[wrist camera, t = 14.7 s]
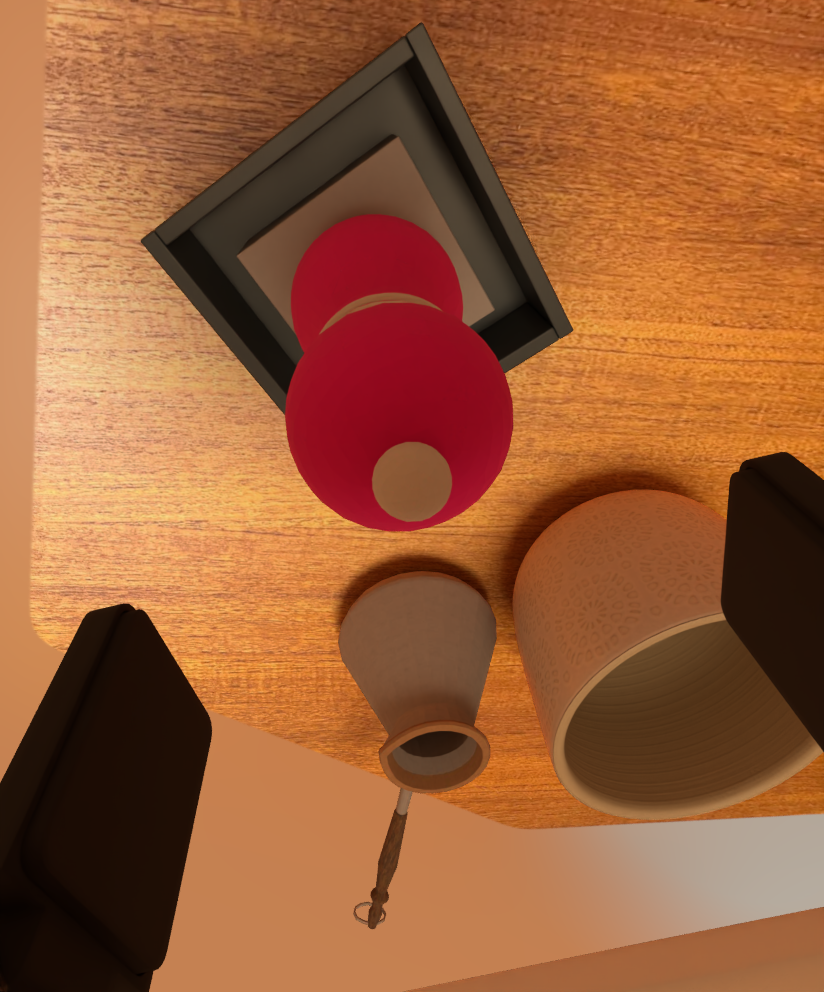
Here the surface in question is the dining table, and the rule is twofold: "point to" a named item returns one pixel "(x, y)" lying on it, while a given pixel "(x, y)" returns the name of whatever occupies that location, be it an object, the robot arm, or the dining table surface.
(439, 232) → the brown square block
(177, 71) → the dining table surface
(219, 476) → the dining table surface
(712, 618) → the planter
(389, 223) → the pepper mill
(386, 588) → the coffee pot
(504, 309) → the dark square tray
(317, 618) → the dining table surface
